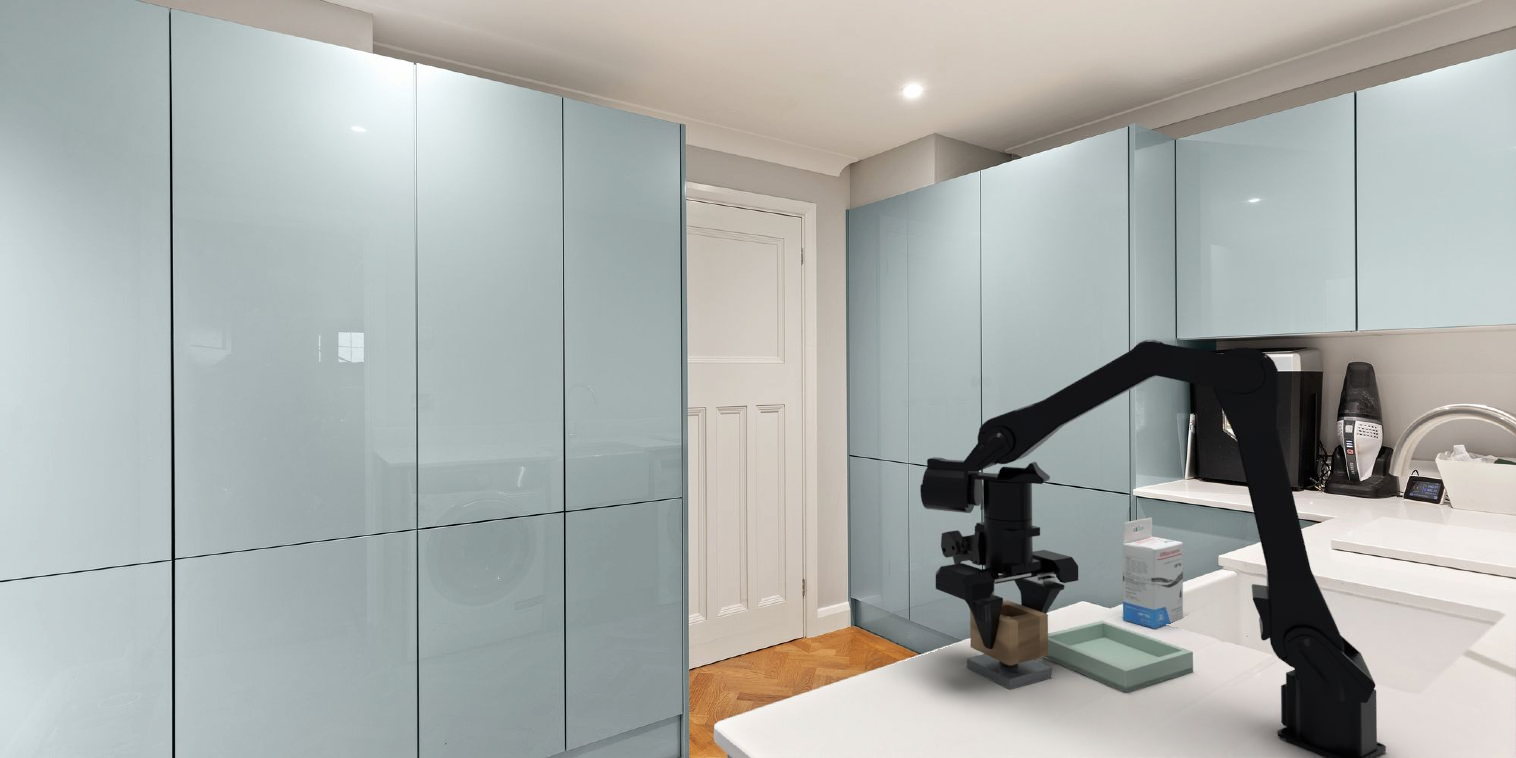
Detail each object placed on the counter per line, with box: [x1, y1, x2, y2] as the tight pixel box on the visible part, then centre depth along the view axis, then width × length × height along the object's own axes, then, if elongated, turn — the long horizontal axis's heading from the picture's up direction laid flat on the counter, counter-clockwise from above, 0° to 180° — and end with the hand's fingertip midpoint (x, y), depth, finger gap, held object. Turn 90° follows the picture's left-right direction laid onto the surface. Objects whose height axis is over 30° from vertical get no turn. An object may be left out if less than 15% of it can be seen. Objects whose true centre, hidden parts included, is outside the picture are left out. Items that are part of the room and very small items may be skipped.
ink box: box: [1122, 516, 1184, 629], centre depth 105 cm, size 8×5×15 cm, turn 123°
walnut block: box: [969, 599, 1049, 665], centre depth 86 cm, size 6×6×5 cm
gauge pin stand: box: [966, 616, 1053, 690], centre depth 86 cm, size 7×7×7 cm
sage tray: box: [1043, 620, 1194, 693], centre depth 89 cm, size 13×13×2 cm
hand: (1008, 643), depth 86 cm, fingers closed on walnut block, 6 cm apart
